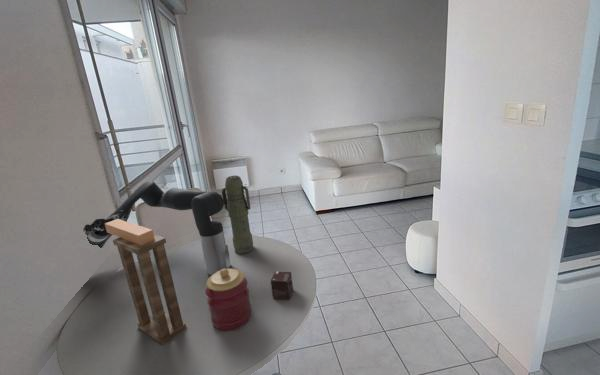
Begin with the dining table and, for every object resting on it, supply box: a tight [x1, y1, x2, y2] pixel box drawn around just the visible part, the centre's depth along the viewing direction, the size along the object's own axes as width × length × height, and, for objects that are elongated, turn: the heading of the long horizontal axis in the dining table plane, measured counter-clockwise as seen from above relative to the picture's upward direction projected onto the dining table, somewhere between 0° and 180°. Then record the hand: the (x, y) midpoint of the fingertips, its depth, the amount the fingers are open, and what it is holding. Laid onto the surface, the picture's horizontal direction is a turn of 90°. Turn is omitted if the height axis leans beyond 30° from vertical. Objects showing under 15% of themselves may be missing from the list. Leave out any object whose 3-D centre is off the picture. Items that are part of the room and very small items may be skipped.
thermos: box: [221, 175, 254, 255], centre depth 139 cm, size 9×12×35 cm
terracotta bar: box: [105, 219, 155, 245], centre depth 92 cm, size 20×4×3 cm, turn 55°
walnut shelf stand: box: [112, 233, 187, 345], centre depth 94 cm, size 14×8×31 cm, turn 55°
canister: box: [204, 268, 253, 332], centre depth 97 cm, size 13×13×18 cm
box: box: [270, 271, 294, 300], centre depth 108 cm, size 6×6×7 cm
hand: (111, 216), depth 113 cm, fingers open, 8 cm apart
